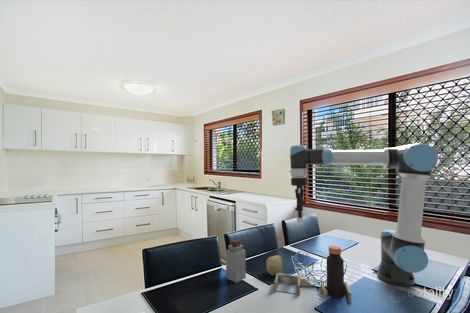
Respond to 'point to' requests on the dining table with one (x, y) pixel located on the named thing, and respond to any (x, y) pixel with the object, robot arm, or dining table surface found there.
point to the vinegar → (335, 273)
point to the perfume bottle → (235, 262)
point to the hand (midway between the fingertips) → (300, 221)
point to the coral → (274, 265)
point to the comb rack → (291, 281)
